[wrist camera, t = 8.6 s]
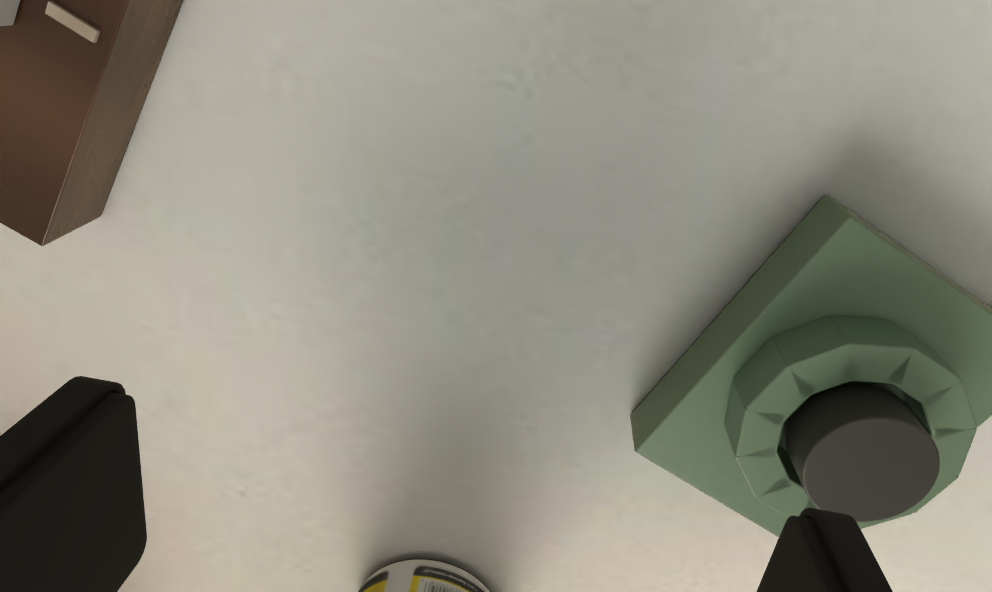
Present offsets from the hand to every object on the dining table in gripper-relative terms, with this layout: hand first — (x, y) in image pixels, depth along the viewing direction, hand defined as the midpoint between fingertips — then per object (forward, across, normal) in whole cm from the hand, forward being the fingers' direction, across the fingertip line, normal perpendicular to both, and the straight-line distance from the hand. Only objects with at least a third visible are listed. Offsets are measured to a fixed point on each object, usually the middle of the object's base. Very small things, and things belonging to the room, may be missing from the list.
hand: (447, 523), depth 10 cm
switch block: (+14, -11, +4) cm, 18 cm away
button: (+11, -11, +4) cm, 16 cm away
